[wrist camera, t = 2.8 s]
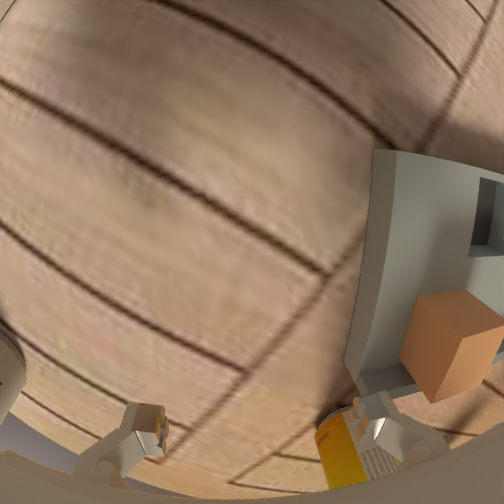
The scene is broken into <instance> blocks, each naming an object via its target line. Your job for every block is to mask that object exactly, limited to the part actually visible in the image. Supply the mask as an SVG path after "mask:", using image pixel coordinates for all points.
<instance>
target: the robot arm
mask: <svg viewBox="0 0 504 504" xmlns="http://www.w3.org/2000/svg"><path fill="white" fill-rule="evenodd" d="M13 2H14V0H0V20H1V19H2V17H3V16H4V14H5V13H6V12H7V10H8V9H9V7H10V6H11V4H12V3H13ZM352 403H353V405H354V406H353V407H351V408H350V411H349V424H350V426H351V428H353V429H354V430H356V431H355V433H354V436H355V439H356V441H357V443H358V445H361V444H366V443H371V442H375V443H376V444H378V445H379V446H380V447H382V448H383V449H384V450H386V451H387V452H388V453H389V454H391V455H392V456H393V457H395V458H396V459H397V460H399V461H400V462H401V463H400V465H399V466H398V467H397V469H396V470H395V473H392V474H389V475H386V476H382V477H379V478H376V479H372V480H369V481H365V482H361V483H357V484H353V485H349V486H345V487H340V488H335V489H330V490H325V491H320V492H314V493H307V494H300V495H293V496H284V497H273V498H260V499H197V498H183V497H173V496H164V495H157V494H150V493H144V492H138V491H132V490H131V489H130V487H129V486H128V485H127V483H126V482H125V481H124V479H123V478H124V477H125V476H126V475H127V474H128V473H129V472H130V471H131V470H132V469H133V468H134V467H135V466H136V465H137V464H138V463H139V462H140V461H141V460H142V459H143V458H144V457H145V456H146V455H154V456H165V451H166V442H165V439H166V438H167V437H168V433H169V423H168V418H167V417H166V416H165V408H164V406H161V405H152V404H144V403H136V402H129V403H128V405H127V407H126V410H125V413H124V416H123V419H122V422H121V425H120V428H119V429H117V428H116V429H115V430H113V431H112V432H111V433H109V434H108V435H107V436H105V437H104V438H102V439H101V440H100V441H98V442H97V443H95V444H94V445H92V446H91V447H90V448H88V449H87V450H85V451H84V452H82V453H81V454H80V457H79V459H78V462H77V464H76V467H75V470H74V473H73V475H70V474H67V473H64V472H61V471H59V470H55V469H53V468H50V467H48V466H45V465H43V464H40V463H38V462H35V461H33V460H31V459H29V458H26V457H24V456H22V455H20V454H18V453H16V452H13V451H11V450H5V451H1V452H0V504H504V423H499V424H497V425H496V426H494V427H492V428H491V429H489V430H487V431H486V432H484V433H482V434H480V435H479V436H477V437H475V438H473V439H471V440H469V441H468V442H466V443H464V444H462V445H460V446H458V447H456V448H454V449H452V450H451V449H450V447H449V446H448V444H447V443H446V441H445V439H444V438H443V436H442V435H441V433H440V432H438V431H436V430H434V429H432V428H430V427H428V426H426V425H424V424H422V423H421V422H419V421H417V420H415V419H413V418H411V417H409V416H407V415H405V414H403V413H402V414H400V412H399V411H398V409H397V407H396V406H395V404H394V402H393V401H392V399H391V397H390V396H389V394H388V392H387V391H381V392H376V393H371V394H366V395H361V396H356V397H355V398H354V399H353V402H352Z"/></svg>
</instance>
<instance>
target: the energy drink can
mask: <svg viewBox="0 0 504 504" xmlns="http://www.w3.org/2000/svg"><path fill="white" fill-rule="evenodd" d="M26 379H27V378H26V364H25V361H24V359H23V357H22V355H21V354H20V352H19V350H18V349H17V348H16V346H15V345H14V344H13V343H12V342H11V341H10V340H9V339H8V338H7V337H5V336H4V335H2V334H1V333H0V425H1V424H2V422H3V420H4V418H5V417H6V415H7V413H8V412H9V410H10V408H11V406H12V405H13V403H14V402H15V400H16V398H17V397H18V395H19V394H20V392H21V390H22V389H23V387H24V386H25V384H26Z"/></svg>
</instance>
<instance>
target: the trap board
mask: <svg viewBox="0 0 504 504" xmlns="http://www.w3.org/2000/svg"><path fill="white" fill-rule="evenodd" d="M460 290H467V291H469V292H470V293H471V294H473V295H474V296H475V297H477V298H478V299H479V300H481V301H482V302H483V303H485V304H486V305H487V306H488V307H490V308H491V309H492V310H494V311H495V312H496V313H497V314H499V315H500V316H501V317H503V318H504V175H502V174H499V173H495V172H492V171H488V170H485V169H481V168H478V167H474V166H470V165H466V164H462V163H458V162H454V161H449V160H445V159H440V158H436V157H431V156H426V155H421V154H416V153H410V152H404V151H398V150H384V149H373V163H372V180H371V193H370V204H369V215H368V224H367V233H366V241H365V248H364V256H363V262H362V269H361V275H360V281H359V287H358V293H357V299H356V304H355V309H354V314H353V319H352V324H351V329H350V333H349V338H348V342H347V347H346V351H345V355H344V359H343V361H344V363H345V365H346V367H347V369H348V371H349V373H350V375H351V377H352V379H353V381H354V383H355V385H356V387H357V389H358V391H359V393H360V395H366V394H371V393H376V392H381V391H387V392H388V394H389V396H390V397H391V399H394V398H398V397H402V396H406V395H409V394H413V393H416V392H419V391H422V390H421V389H420V387H419V386H418V385H417V383H416V382H415V380H414V379H413V378H412V376H411V375H410V373H409V372H408V371H407V369H406V368H405V366H404V365H403V364H402V362H401V361H400V359H399V358H398V356H399V353H400V350H401V347H402V344H403V341H404V338H405V335H406V332H407V329H408V326H409V322H410V319H411V316H412V312H413V308H414V305H415V301H416V297H417V296H421V295H429V294H438V293H445V292H453V291H460ZM502 359H504V338H503V340H502V342H501V345H500V347H499V349H498V351H497V353H496V355H495V357H494V359H493V361H492V363H491V365H492V364H494V363H496V362H498V361H500V360H502Z"/></svg>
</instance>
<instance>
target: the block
mask: <svg viewBox="0 0 504 504" xmlns="http://www.w3.org/2000/svg"><path fill="white" fill-rule="evenodd" d="M503 338H504V318H503V317H501V316H500V315H499V314H497V313H496V312H495V311H494V310H492V309H491V308H490V307H488V306H487V305H486V304H485V303H483V302H482V301H481V300H479V299H478V298H477V297H475V296H474V295H473V294H471V293H470V292H469V291H467V290H460V291H453V292H445V293H438V294H429V295H421V296H417V297H416V301H415V305H414V308H413V312H412V316H411V319H410V322H409V326H408V329H407V332H406V335H405V338H404V341H403V344H402V347H401V350H400V353H399V356H398V358H399V359H400V361H401V362H402V364H403V365H404V366H405V368H406V369H407V371H408V372H409V373H410V375H411V376H412V378H413V379H414V380H415V382H416V383H417V385H418V386H419V387H420V389H421V390H422V392H423V393H424V395H425V396H426V398H427V399H428V400H429V402H430V403H431V404H432V403H435V402H438V401H441V400H443V399H446V398H448V397H451V396H453V395H456V394H458V393H461V392H463V391H465V390H468V389H470V388H472V387H475V386H477V385H479V384H481V382H482V380H483V378H484V377H485V375H486V373H487V371H488V369H489V367H490V365H491V363H492V361H493V359H494V357H495V355H496V353H497V351H498V349H499V347H500V345H501V342H502V340H503Z"/></svg>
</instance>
